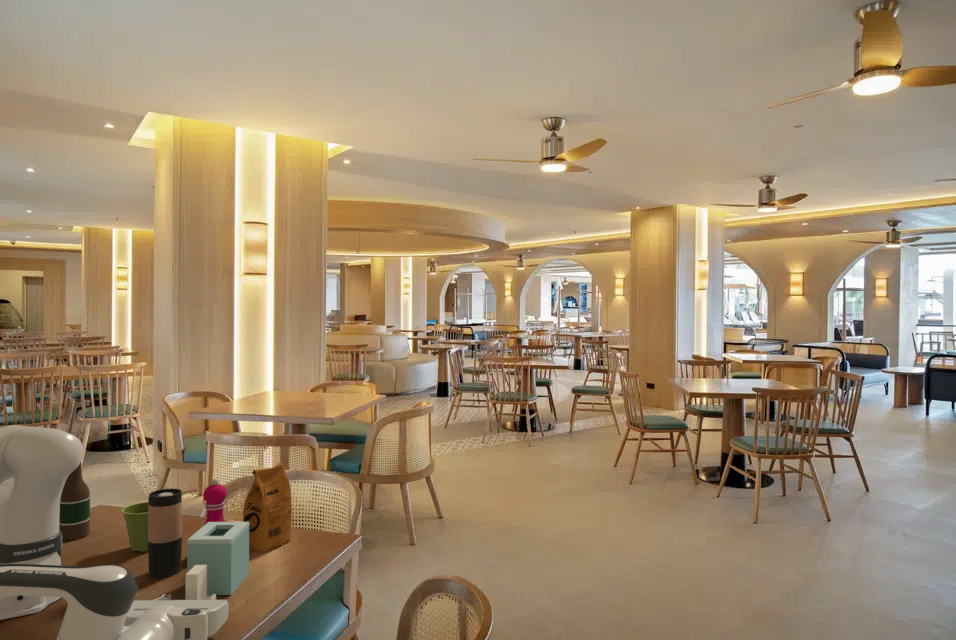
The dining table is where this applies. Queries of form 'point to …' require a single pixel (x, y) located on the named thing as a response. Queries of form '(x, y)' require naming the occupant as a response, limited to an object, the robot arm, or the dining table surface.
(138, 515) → the plant pot
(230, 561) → the box
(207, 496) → the pepper mill
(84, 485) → the beer bottle
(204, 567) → the white rectangular block
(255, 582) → the dining table surface
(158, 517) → the travel mug
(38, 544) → the robot arm
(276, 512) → the coffee package
